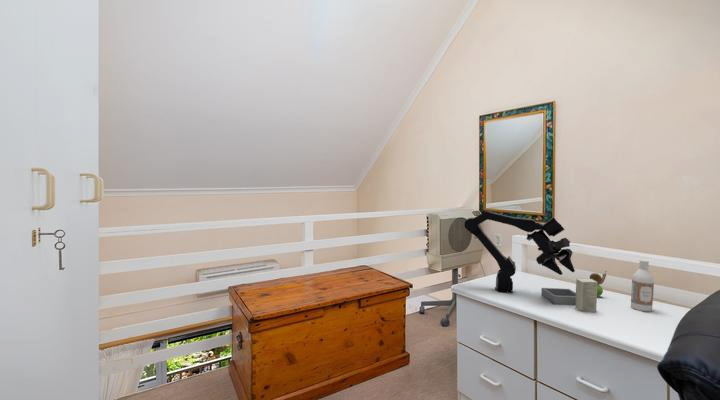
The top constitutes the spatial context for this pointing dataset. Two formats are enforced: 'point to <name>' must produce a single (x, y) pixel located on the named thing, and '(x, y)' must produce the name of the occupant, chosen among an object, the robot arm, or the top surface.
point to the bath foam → (642, 288)
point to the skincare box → (586, 295)
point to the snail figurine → (598, 279)
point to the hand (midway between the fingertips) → (567, 273)
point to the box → (559, 296)
